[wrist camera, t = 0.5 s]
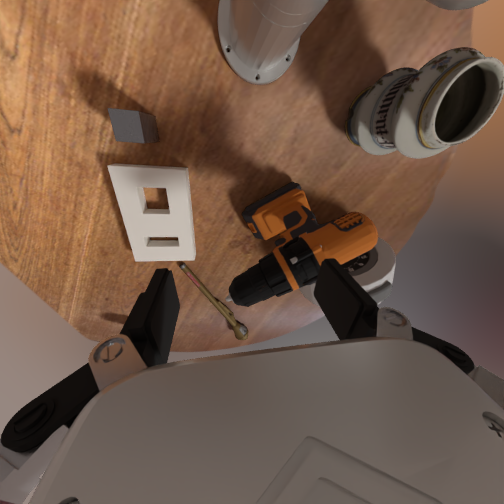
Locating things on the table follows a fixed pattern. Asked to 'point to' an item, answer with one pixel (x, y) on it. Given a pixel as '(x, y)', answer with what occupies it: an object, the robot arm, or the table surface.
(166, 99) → the table surface
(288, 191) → the power drill
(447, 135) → the apothecary jar
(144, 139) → the square peg
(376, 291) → the alarm clock
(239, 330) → the olive long knobbed bar
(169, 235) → the hole board
